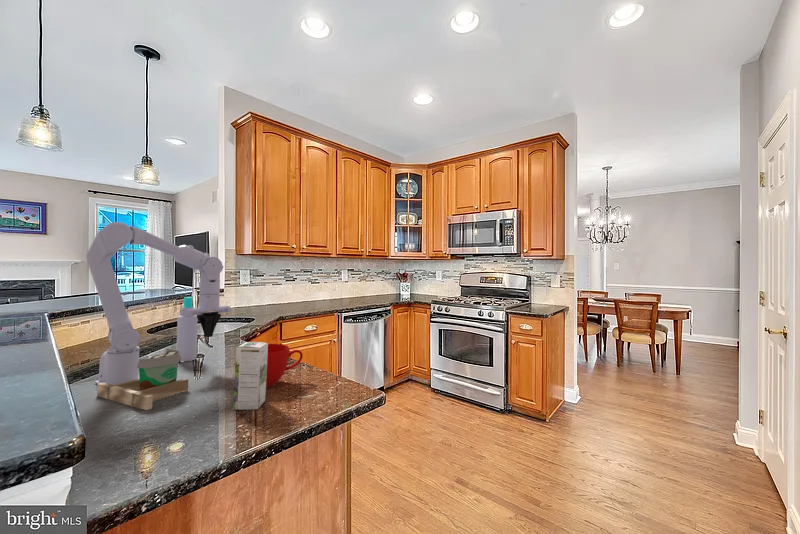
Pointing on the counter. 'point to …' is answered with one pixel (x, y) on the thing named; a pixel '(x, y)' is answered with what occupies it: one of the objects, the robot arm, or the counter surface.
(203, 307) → the robot arm
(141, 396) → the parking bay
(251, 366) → the syrup box
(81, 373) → the counter surface
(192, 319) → the spray bottle
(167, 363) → the food container
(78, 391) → the counter surface
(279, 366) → the ceramic cup
